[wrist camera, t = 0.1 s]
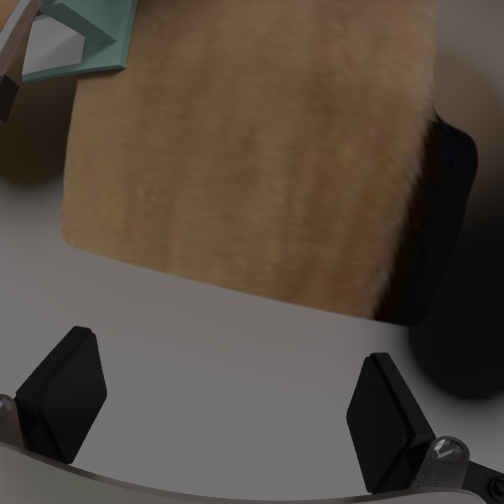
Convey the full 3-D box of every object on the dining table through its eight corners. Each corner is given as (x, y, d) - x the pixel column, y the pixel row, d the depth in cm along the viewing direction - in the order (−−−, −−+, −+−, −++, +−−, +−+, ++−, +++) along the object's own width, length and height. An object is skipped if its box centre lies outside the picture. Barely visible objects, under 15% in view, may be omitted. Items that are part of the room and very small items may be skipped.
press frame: (42, 20, 31) (-22, -9, 16) (138, -1, 31) (89, -57, 16) (29, 83, 34) (-44, 70, 19) (125, 68, 34) (62, 31, 19)
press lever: (33, -10, 17) (21, -26, 14) (81, -26, 17) (71, -45, 14) (-35, 135, 16) (-58, 123, 13) (10, 126, 16) (-15, 110, 13)
